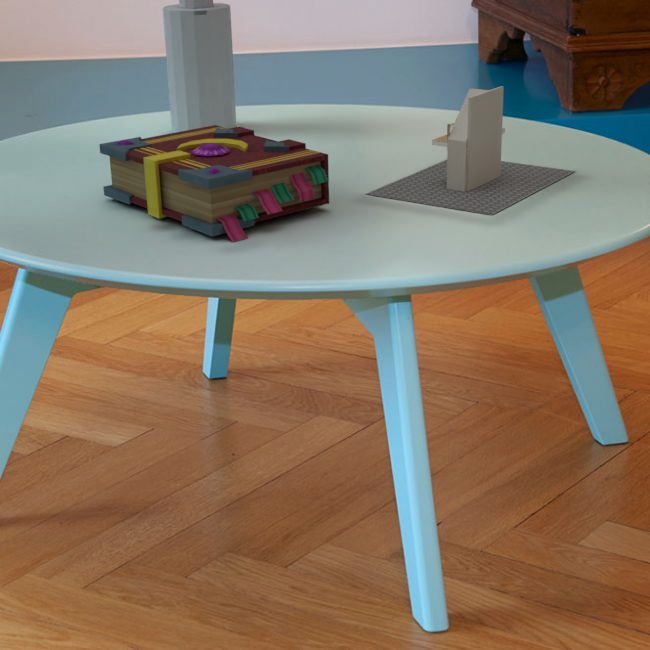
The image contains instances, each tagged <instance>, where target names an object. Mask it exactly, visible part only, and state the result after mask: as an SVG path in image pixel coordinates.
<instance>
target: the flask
mask: <svg viewBox="0 0 650 650" xmlns="http://www.w3.org/2000/svg"><path fill="white" fill-rule="evenodd" d="M162 17H163V32H164V44H165V46H164V47H165V57H166V71H167V73H166V74H167V86H168V99H169V100H168V101H169V113H170V115H169V116H170V124H171V131H172V132H171V133H176V132H181V131H187V130H192V129H197V128H203V127H208V126H213V125H217V126H221V127H225V128H228V129H229V128H234V127H237V111H236V110H237V109H236V92H235V91H236V90H235V75H234V74H235V72H234V53H233V34H232V31H233V30H232V11H231V4H228V3H223V2H214V0H178V3H176V4H169V5H166V6H163V7H162Z"/></svg>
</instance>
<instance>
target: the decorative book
mask: <svg viewBox="0 0 650 650" xmlns="http://www.w3.org/2000/svg"><path fill="white" fill-rule="evenodd" d="M98 145H99V154H101V155H104V156H108V157H109V165H110V166H109V167H110V177H111V178H110V179H111V184H109V185H106V186H105V185H104V186H103V195H104V197H108V198H111V199H114V200H117V201H119V202H121V203H124V204H127V205H131V204H133V205H137V206H140V207H142V208H145V209H147V215H149V216H151V217H154V218H156V219H158V220H160V219H164V218H172V219H174V220H176V221H179V222H181V225H182V226H184V227H187V228H189V229H192V230H194V231H197V232H200V233H201V234H205V235H207V236H209V237H217V236H220V235H224V234H227V237H228V238H229V239H230V240H231V242H232V243H234V242H238V241H242V240H246V239H248V238H249V237H248V235H247V234H246V233H245V232H244V230H243V229H246V228H250V227H254V226H255V225H256V224H255V223H259V222H262V221H266V220H271V219H274V218H278V217H281V216H286V215H290V214H293V213H297V212H301V211H305V210H309V209H312V208H317V207H321V206H325V205H329V204H330V187H329V186H330V181H329V179H330V178H329V177H330V176H329V154H328V153H324V152H320V151H317V150H313V149H309V148H307V145H306V143H305V142H302V141H298V140H294V139H290V138H288V139H283V140H274V139H271V138H267V137H262V136H259V135H255V130H254V129H250V128H246V127H242V126H236V127H234V128H229V129H228V128H225V127H221V126H217V125H213V126H208V127H203V128H197V129H192V130H187V131H181V132H176V133H173V132H170V133H165V134H161V135H156V136H155V135H154V136H150V137H145V138H142V137H141V136H137V137H136V136H135V137H132V138H126V139H120V140H113V141H108V142H102V143H99V144H98Z"/></svg>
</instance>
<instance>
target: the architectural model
mask: <svg viewBox="0 0 650 650" xmlns="http://www.w3.org/2000/svg"><path fill="white" fill-rule="evenodd" d="M504 87H505V86H503V85H501V86H497V87H495V88H492V89H482V88H481V89H480V88H479V89H478V88H469V89H468V91H467V93H466V96H465V98H464V100H463V102H462V105H461V107H460V109H459V111H458V113H457V116H456V118H455V121H454V122H453V123H447V124H446V131H447V132H446V134H445V135H441V136H439V137H437V138H435V139H432V140H431V145H432V146H437V147H445V148H447V149H446V159H445V160H442V161H441V162H439V163H436V164H433V165H430V166H429V167H426V168H423V169H421V170H419V171H417V172H413V173H412V174H409V175H407V176H405V177H402V178H400V179H398V180H395V181H392V182H391V183H388V184H386V185H384V186H381V187H378V188H376V189H374V190H371V191H369V192H367V193H365V195H370V196H375V197H381V198H387V199H393V200H399V201H405V202H410V203H411V202H412V203H416V204H417V203H418V204H425V205H428V206H429V205H430V206H435V207H442V208H448V209H452V210H453V209H454V210H460V211H466V212H471V213H478V214H485V215H489V216H490V215H491V216H493V215H495V214H497V213H498V212H500V211H503V210H504V209H506V208H508V207H510V206H512V205H514V204H516V203H518V202H520V201H522V200H523V199H525V198H527V197H530V196H531V195H533V194H534V193H537V192H539V191H540V190H542V189H545V188H546V187H548V186H550V185H552V184H554V183H556V182H557V181H560V180H562V179H564V178H566V177H568V176H569V175H571V174H573V173H575V172H576V170H570V169H564V168H555V167H550V166H549V167H548V166H541V165H534V164H526V163H520V162H519V163H518V162H510V161H505V160H502V144H503V143H502V140H503V135H504V134H506V128H503V117H504V114H503V113H504V112H503V111H504V91H505V90H504V89H505V88H504ZM451 126H452V127H451Z"/></svg>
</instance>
